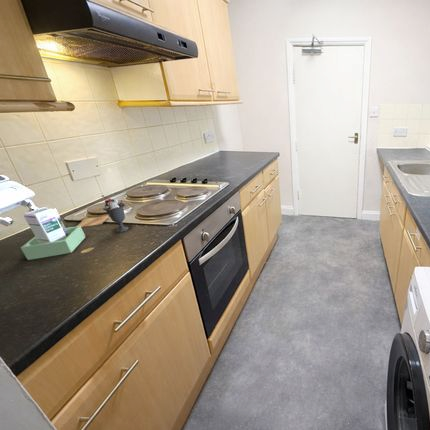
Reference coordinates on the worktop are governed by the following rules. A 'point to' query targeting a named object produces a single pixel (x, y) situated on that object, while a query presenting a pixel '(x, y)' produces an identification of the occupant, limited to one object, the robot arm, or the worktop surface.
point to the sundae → (115, 212)
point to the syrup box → (46, 225)
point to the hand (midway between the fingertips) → (24, 217)
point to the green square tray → (54, 245)
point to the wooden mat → (92, 221)
